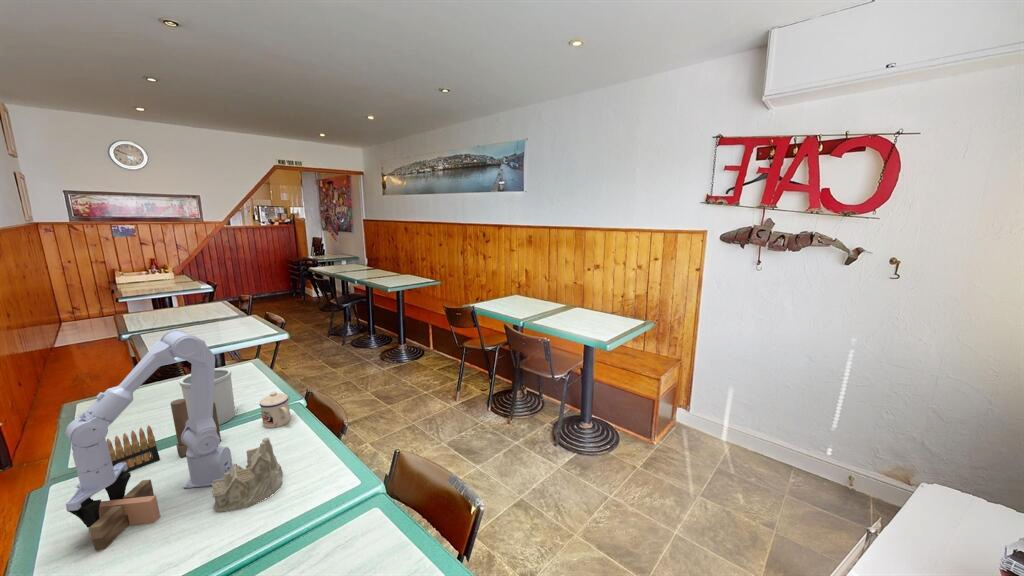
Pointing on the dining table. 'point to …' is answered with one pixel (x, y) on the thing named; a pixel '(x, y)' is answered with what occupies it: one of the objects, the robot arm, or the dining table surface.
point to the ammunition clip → (134, 450)
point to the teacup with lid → (275, 410)
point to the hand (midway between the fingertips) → (106, 514)
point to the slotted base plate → (116, 518)
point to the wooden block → (180, 422)
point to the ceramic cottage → (249, 480)
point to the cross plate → (134, 509)
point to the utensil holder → (215, 394)
